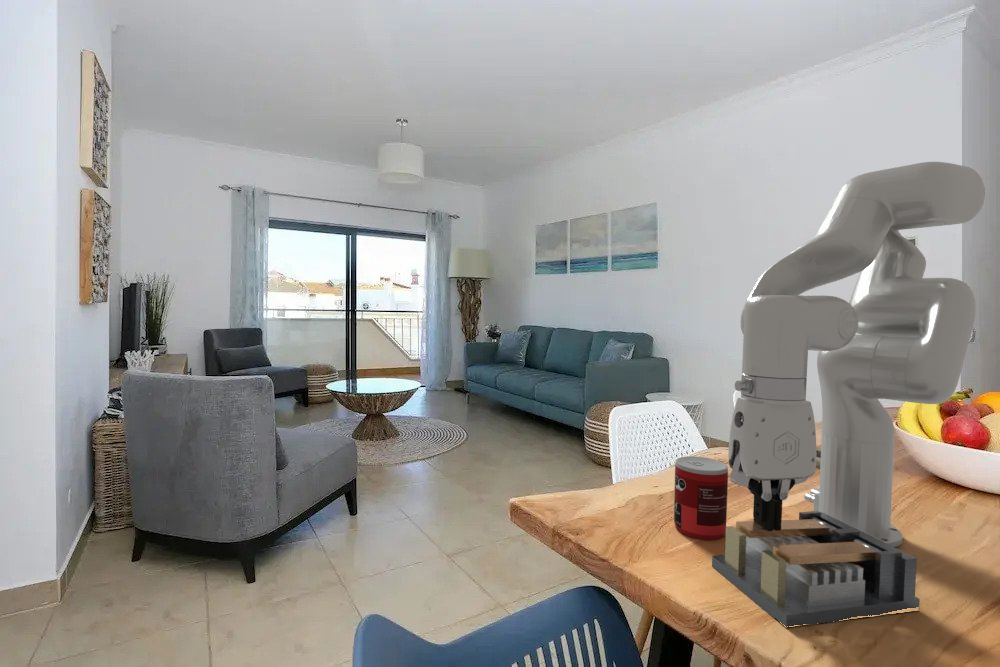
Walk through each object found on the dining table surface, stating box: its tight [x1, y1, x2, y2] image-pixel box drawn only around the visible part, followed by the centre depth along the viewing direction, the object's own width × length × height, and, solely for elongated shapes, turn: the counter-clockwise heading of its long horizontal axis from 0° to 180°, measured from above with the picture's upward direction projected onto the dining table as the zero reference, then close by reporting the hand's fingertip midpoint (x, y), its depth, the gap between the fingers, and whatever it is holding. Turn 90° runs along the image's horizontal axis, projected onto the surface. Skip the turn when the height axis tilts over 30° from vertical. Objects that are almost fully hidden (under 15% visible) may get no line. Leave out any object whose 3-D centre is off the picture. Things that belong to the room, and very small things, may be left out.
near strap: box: [773, 539, 882, 565], centre depth 62 cm, size 4×13×1 cm, turn 101°
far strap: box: [735, 517, 837, 538], centre depth 69 cm, size 4×13×1 cm, turn 101°
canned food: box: [673, 455, 729, 541], centre depth 83 cm, size 8×8×11 cm
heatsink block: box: [711, 510, 921, 627], centre depth 66 cm, size 14×18×7 cm
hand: (766, 526), depth 68 cm, fingers closed
